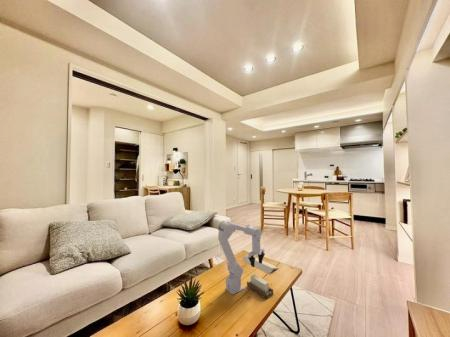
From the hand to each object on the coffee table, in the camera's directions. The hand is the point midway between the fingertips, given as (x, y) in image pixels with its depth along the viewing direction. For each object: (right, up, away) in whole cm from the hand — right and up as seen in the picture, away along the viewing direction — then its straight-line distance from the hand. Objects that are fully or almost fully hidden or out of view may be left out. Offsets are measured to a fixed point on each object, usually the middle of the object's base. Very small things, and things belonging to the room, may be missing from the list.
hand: (256, 264), depth 132 cm
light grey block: (0, -9, -11) cm, 15 cm away
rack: (0, -10, -12) cm, 15 cm away
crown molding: (+6, -12, +22) cm, 26 cm away
